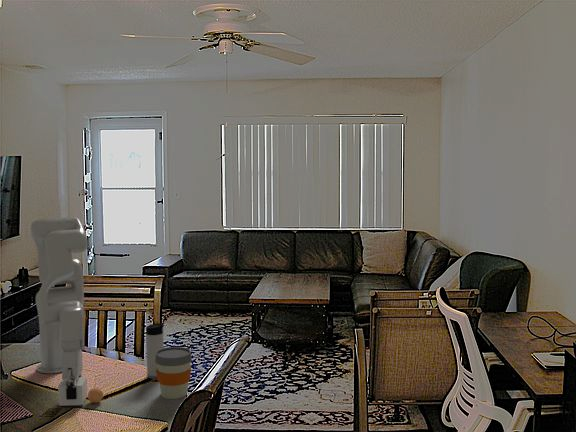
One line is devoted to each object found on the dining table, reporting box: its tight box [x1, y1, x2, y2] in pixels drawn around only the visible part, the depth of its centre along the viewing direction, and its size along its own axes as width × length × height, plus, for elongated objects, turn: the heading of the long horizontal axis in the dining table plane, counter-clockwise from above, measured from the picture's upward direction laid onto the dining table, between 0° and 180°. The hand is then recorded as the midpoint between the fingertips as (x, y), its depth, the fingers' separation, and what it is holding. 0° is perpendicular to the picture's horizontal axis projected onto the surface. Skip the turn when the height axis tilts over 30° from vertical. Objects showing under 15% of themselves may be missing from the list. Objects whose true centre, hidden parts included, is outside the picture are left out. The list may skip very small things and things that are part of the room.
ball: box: [87, 387, 104, 404], centre depth 226 cm, size 5×5×5 cm
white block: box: [57, 376, 88, 407], centre depth 225 cm, size 8×8×7 cm
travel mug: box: [145, 323, 165, 380], centre depth 249 cm, size 6×7×20 cm
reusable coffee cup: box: [155, 346, 193, 400], centre depth 232 cm, size 13×13×15 cm
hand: (74, 393), depth 225 cm, fingers closed on white block, 7 cm apart
